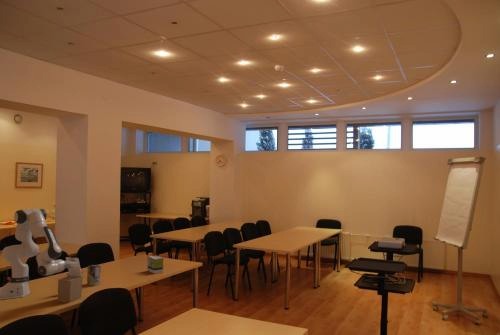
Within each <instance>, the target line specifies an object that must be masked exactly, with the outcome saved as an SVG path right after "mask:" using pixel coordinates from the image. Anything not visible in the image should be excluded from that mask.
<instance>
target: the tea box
mask: <svg viewBox="0 0 500 335" xmlns="http://www.w3.org/2000/svg"><path fill="white" fill-rule="evenodd" d="M146 267H147V270H146V271H147V272H149V273H151V274H153V273H154V274H153V275H156V274H155V273H157V274H162V273H164V258H163V257H162V256H158V255H152V256H147V266H146Z"/></svg>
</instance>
